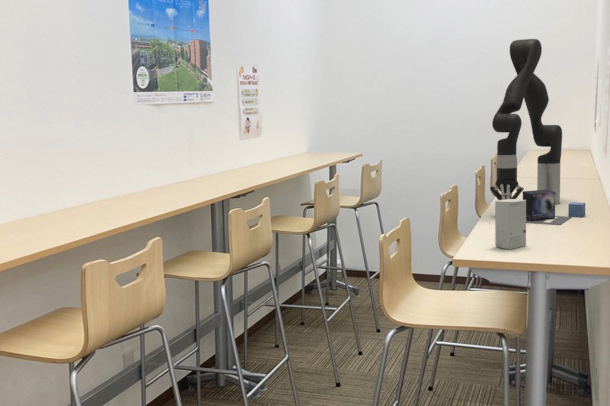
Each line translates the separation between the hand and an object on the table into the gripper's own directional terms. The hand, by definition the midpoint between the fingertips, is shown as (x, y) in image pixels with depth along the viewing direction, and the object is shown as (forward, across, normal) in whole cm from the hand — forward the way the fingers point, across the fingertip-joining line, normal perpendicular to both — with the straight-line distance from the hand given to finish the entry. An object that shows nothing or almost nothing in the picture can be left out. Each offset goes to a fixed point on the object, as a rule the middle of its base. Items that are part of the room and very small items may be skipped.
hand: (506, 211), depth 269 cm
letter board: (+2, -12, 0) cm, 12 cm away
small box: (+2, -12, 0) cm, 12 cm away
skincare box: (+3, -17, +49) cm, 52 cm away
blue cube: (+3, -23, -12) cm, 26 cm away
